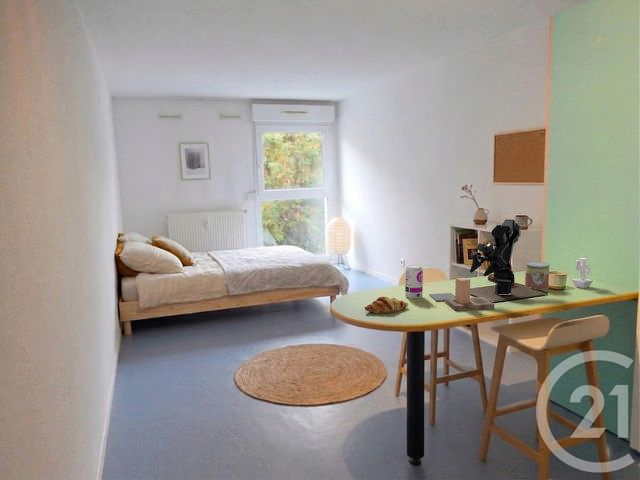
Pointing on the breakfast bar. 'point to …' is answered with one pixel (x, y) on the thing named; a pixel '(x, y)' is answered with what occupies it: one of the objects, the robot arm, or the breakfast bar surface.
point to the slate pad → (442, 296)
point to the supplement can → (413, 281)
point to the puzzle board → (474, 304)
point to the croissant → (386, 305)
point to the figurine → (582, 274)
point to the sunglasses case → (491, 277)
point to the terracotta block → (462, 291)
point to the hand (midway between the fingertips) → (477, 274)
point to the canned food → (537, 275)
